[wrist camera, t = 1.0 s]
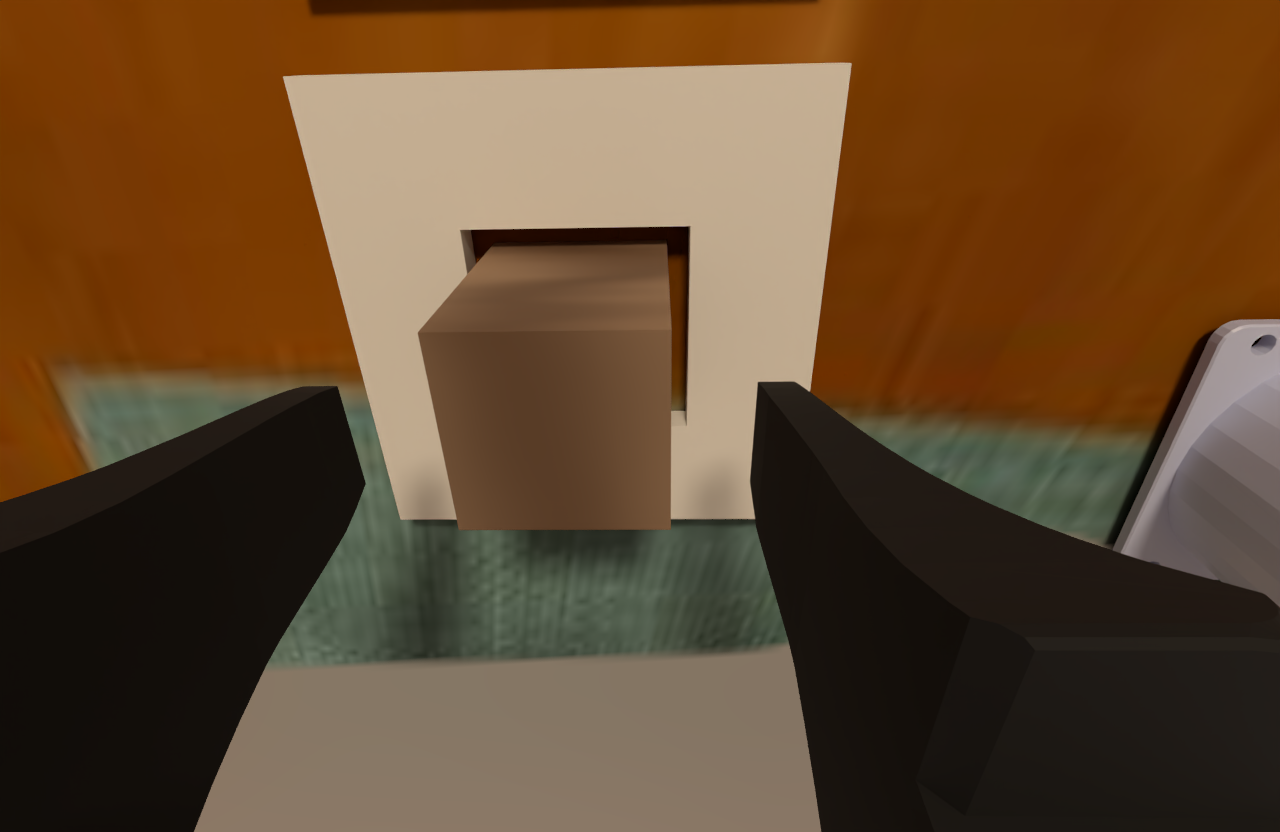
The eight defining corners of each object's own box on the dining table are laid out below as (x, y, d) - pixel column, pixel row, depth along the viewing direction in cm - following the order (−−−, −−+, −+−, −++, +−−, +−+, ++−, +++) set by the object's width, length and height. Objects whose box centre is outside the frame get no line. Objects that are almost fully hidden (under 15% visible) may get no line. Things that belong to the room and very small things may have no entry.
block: (666, 240, 15) (671, 329, 10) (666, 393, 17) (670, 529, 12) (495, 242, 15) (417, 332, 10) (515, 394, 17) (459, 529, 12)
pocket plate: (840, 62, 13) (851, 63, 12) (788, 501, 18) (793, 518, 17) (302, 75, 13) (283, 76, 12) (410, 502, 18) (400, 519, 18)
